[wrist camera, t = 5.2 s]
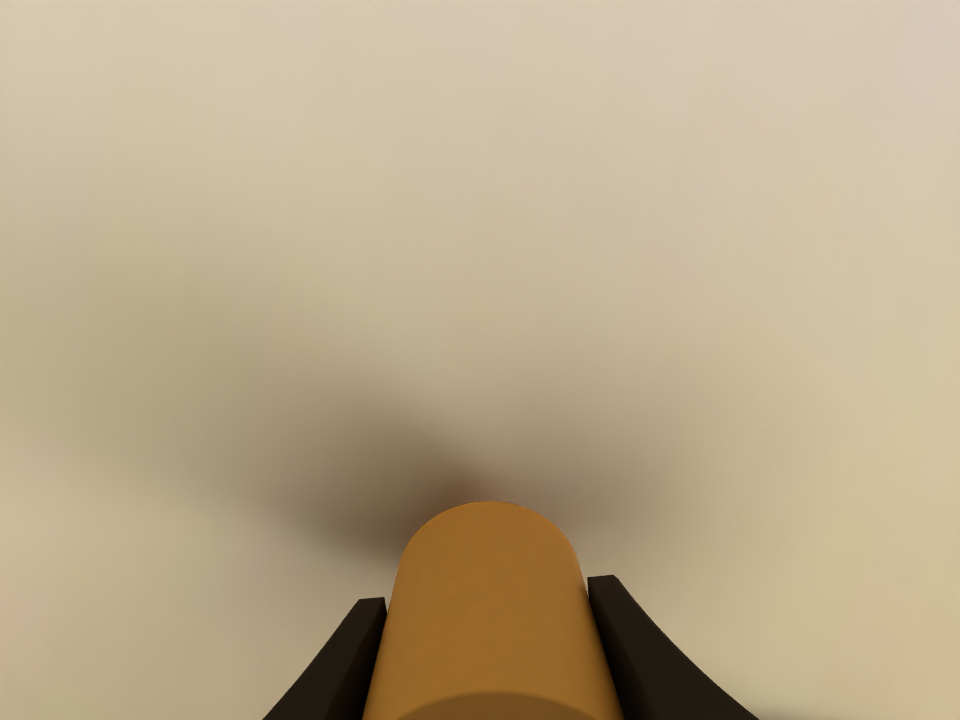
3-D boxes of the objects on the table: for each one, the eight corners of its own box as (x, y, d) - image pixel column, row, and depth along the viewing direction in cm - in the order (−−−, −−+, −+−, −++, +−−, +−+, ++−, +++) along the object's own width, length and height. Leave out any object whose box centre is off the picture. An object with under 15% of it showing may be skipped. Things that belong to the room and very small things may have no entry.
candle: (411, 664, 14) (358, 998, 8) (384, 509, 13) (298, 761, 7) (585, 649, 14) (668, 974, 8) (573, 491, 13) (659, 729, 7)
